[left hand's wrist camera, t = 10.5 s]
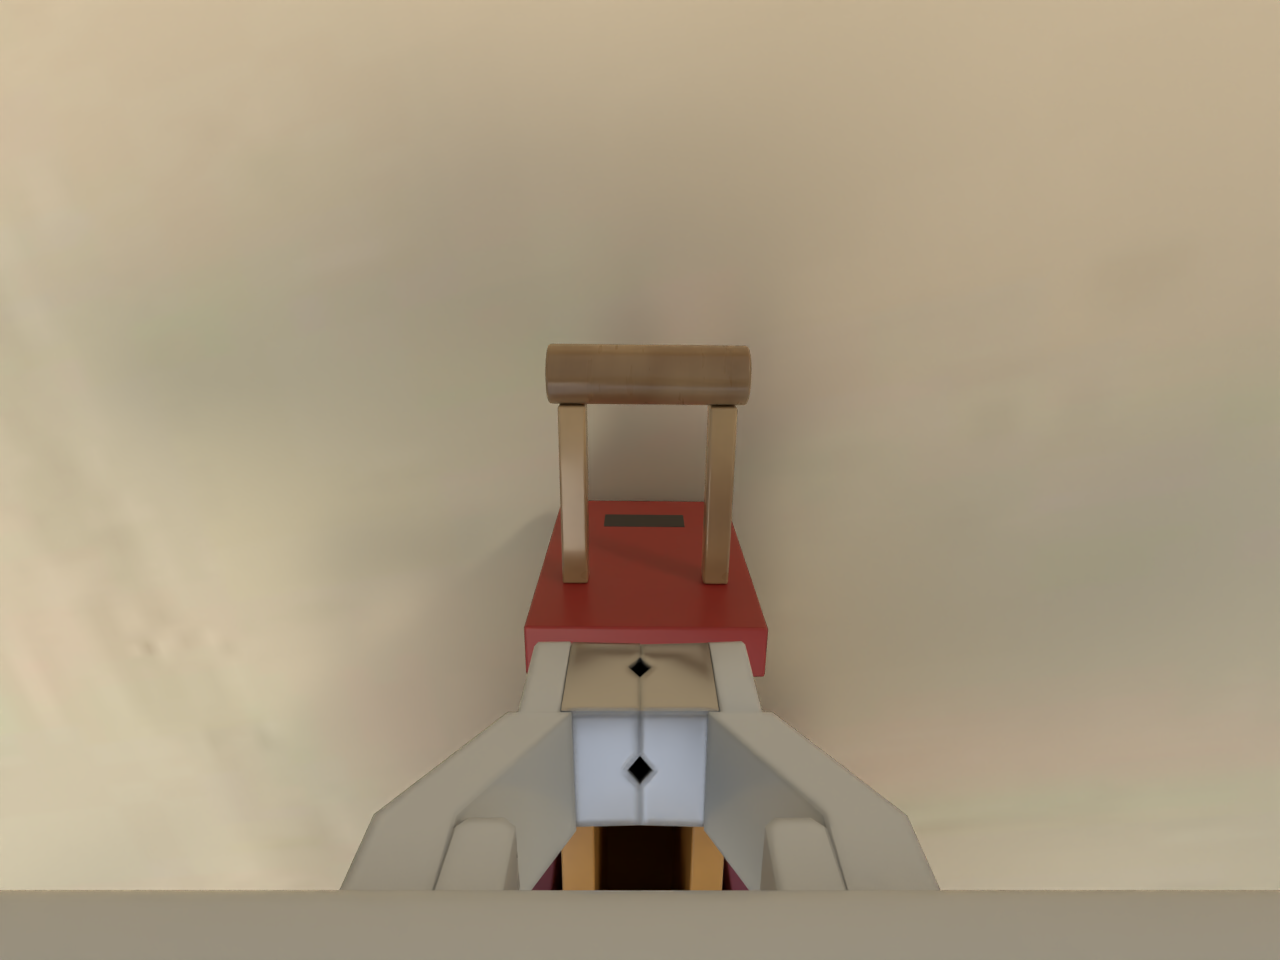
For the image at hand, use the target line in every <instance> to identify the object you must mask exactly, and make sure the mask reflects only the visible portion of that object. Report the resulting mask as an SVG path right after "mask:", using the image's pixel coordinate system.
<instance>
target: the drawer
mask: <svg viewBox="0 0 1280 960" xmlns="http://www.w3.org/2000/svg"><path fill="white" fill-rule="evenodd" d="M545 376H546V392H547V398H548V401H549V402H550V403H552V404H559V406H558V434H559V470H560V509H559V513H558V516H557V519H556V523H555V526H554V529H553V533H552V536H551V539H550V543H549V546H548V549H547V553H546V556H545V559H544V563H543V566H542V569H541V573H540V576H539V579H538V583H537V586H536V589H535V593H534V596H533V599H532V603H531V606H530V609H529V613H528V616H527V620H526V623H525V626H524V637H525V658H526V673H528V669H529V665H530V661H531V657H532V653H533V649H534V646H535V645H536V644H537V643H538V642H571V643H573V642H603V643H640V644H677V643H708V642H733V641H742V642H743V643H744V644H745V646H746V650H747V654H748V658H749V662H750V666H751V670H752V674H753V677H762V676H764V674H765V663H766V650H767V637H768V628H767V625H766V622H765V619H764V616H763V613H762V610H761V607H760V604H759V601H758V598H757V595H756V592H755V589H754V586H753V583H752V580H751V577H750V574H749V571H748V568H747V565H746V562H745V559H744V556H743V553H742V550H741V547H740V544H739V541H738V538H737V535H736V532H735V529H734V526H733V523H732V502H733V483H734V465H735V447H736V428H737V408H736V406H735V405H746V404H747V402H748V399H749V395H750V387H751V355H750V351H749V348H748V347H747V346H724V345H621V344H550V345H549V346H548V348H547V353H546V367H545ZM587 404H655V405H708V417H707V441H706V466H705V490H704V502H674V501H588V438H587ZM561 856H562V886H563V890H722V882H723V865H724V856H723V855H722V854H721V852H720V851H719V850H718V848H717V847H716V846H715V844H714V843H713V842H712V840H711V839H710V838H709V836H708V835H707V834H706V832H705V831H704V827H687V826H652V825H626V826H592V827H576V832H575V833H574V834H573V836H572V837H571V838H570V840H569V841H568V842H567V844H566V845H565V846H564V848H563V849H562V850H561Z"/></svg>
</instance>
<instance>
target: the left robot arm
mask: <svg viewBox="0 0 1280 960" xmlns="http://www.w3.org/2000/svg"><path fill="white" fill-rule="evenodd" d="M626 825H652V826H687V827H704V831H705V832H706V834H707V835H708V836H709V838H710V839H711V840H712V842H713V843H714V844H715V846H716V847H717V848H718V850H719V851H720V852H721V854H722V855H723V856H724V858H725V859H726V860H727V862H728V863H729V864H730V866H731V867H732V868H733V870H734V871H735V872H736V874H737V875H738V876H739V878H740V879H741V880H742V882H743V883H744V884H745V886H746V887H747V888H748V890H532V889H533V887H534V886H535V885H536V883H537V882H538V881H539V879H540V878H541V877H542V875H543V874H544V873H545V871H546V870H547V869H548V868H549V866H550V865H551V864H552V862H553V861H554V860H555V858H556V857H557V856H558V854H559V853H560V852H561V850H562V849H563V848H564V846H565V845H566V844H567V842H568V841H569V840H570V838H571V837H572V836H573V834H574V833H575V832H576V827H592V826H626ZM0 960H1280V890H940V888H939V886H938V883H937V881H936V879H935V877H934V875H933V872H932V870H931V868H930V866H929V863H928V861H927V859H926V857H925V854H924V852H923V850H922V848H921V845H920V843H919V841H918V839H917V836H916V834H915V832H914V830H913V828H912V825H911V823H910V821H909V819H908V816H907V815H906V814H904V813H903V812H902V811H900V810H899V809H898V808H897V807H895V806H894V805H893V804H891V803H890V802H889V801H887V800H886V799H885V798H884V797H882V796H881V795H880V794H878V793H877V792H876V791H874V790H873V789H872V788H871V787H869V786H868V785H867V784H865V783H864V782H863V781H861V780H860V779H859V778H858V777H856V776H855V775H854V774H852V773H851V772H850V771H848V770H847V769H846V768H845V767H843V766H842V765H841V764H839V763H838V762H837V761H835V760H834V759H833V758H832V757H830V756H829V755H828V754H826V753H825V752H824V751H822V750H821V749H820V748H819V747H817V746H816V745H815V744H813V743H812V742H811V741H809V740H808V739H807V738H805V737H804V736H803V735H802V734H800V733H799V732H798V731H796V730H795V729H794V728H792V727H791V726H790V725H789V724H787V723H786V722H785V721H783V720H782V719H781V718H779V717H778V716H777V715H776V714H774V713H773V712H762V709H761V705H760V701H759V697H758V693H757V689H756V685H755V681H754V678H753V674H752V670H751V666H750V662H749V658H748V654H747V650H746V646H745V644H744V643H743V642H742V641H733V642H708V643H677V644H640V643H603V642H573V643H571V642H538V643H537V644H536V645H535V646H534V649H533V653H532V657H531V661H530V665H529V669H528V673H527V677H526V681H525V685H524V689H523V693H522V697H521V701H520V705H519V709H518V712H507V713H506V714H504V715H503V716H502V717H501V718H499V719H498V720H497V721H495V722H494V723H493V724H491V725H490V726H489V727H487V728H486V729H485V730H484V731H482V732H481V733H480V734H478V735H477V736H476V737H474V738H473V739H472V740H470V741H469V742H468V743H467V744H465V745H464V746H463V747H461V748H460V749H459V750H457V751H456V752H455V753H453V754H452V755H451V756H450V757H448V758H447V759H446V760H444V761H443V762H442V763H440V764H439V765H438V766H437V767H435V768H434V769H433V770H431V771H430V772H429V773H427V774H426V775H425V776H423V777H422V778H421V779H420V780H418V781H417V782H416V783H414V784H413V785H412V786H410V787H409V788H408V789H406V790H405V791H404V792H403V793H401V794H400V795H399V796H397V797H396V798H395V799H393V800H392V801H391V802H389V803H388V804H387V805H386V806H384V807H383V808H382V809H380V810H379V811H378V812H376V813H375V814H374V815H373V817H372V819H371V822H370V824H369V826H368V828H367V830H366V833H365V835H364V837H363V839H362V842H361V844H360V846H359V848H358V850H357V853H356V855H355V857H354V859H353V861H352V864H351V866H350V868H349V870H348V872H347V875H346V877H345V879H344V881H343V883H342V886H341V888H340V890H0Z"/></svg>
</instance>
